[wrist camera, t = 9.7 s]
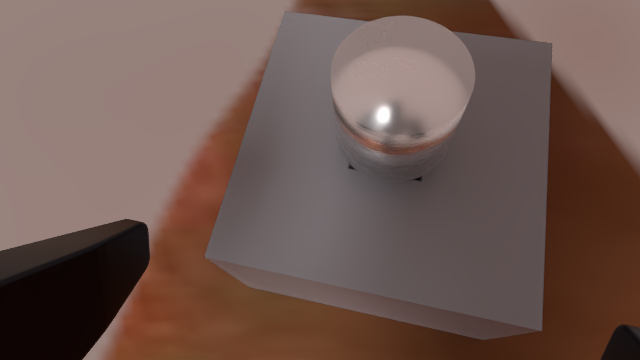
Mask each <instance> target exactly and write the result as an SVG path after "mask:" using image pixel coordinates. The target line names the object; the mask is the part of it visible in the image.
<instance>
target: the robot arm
mask: <svg viewBox="0 0 640 360" xmlns="http://www.w3.org/2000/svg"><path fill="white" fill-rule="evenodd" d="M149 260H150V251H149V235H148V227H147V225H146V224H145V223H143V222H139V221H134V220H130V219H124V220H120V221H116V222H113V223H109V224H104V225H101V226H97V227H93V228H89V229H85V230H81V231H77V232H73V233H69V234H65V235H61V236H57V237H53V238H49V239H46V240H42V241H38V242H34V243H30V244H26V245H22V246H18V247H14V248H10V249H6V250H2V251H0V360H82V359H83V358H84V357H85V356H86V354H87V353H88V352H89V351H90V349H91V348H92V347H93V346H94V345H95V343H96V342H97V341H98V339H99V338H100V337H101V335H102V334H103V333H104V332H105V330H106V329H107V328H108V326H109V325H110V323H111V322H112V321H113V319H114V318H115V316H116V315H117V313H118V312H119V310H120V308H121V307H122V305H123V304H124V302H125V301H126V299H127V298H128V296H129V295H130V293H131V292H132V290H133V289H134V287H135V285H136V284H137V282H138V281H139V279H140V278H141V276H142V275H143V273H144V272H145V270H146V268H147V266H148V264H149ZM601 360H640V328H639V327H635V326H630V325H625V324H623V325H620V326H618V327H617V328H616V329H615V331H614V332H613V335H612V337H611V339H610V341H609V343H608V345H607V347H606V349H605V351H604V353H603V355H602V358H601Z"/></svg>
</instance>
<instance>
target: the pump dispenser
mask: <svg viewBox="0 0 640 360" xmlns="http://www.w3.org/2000/svg"><path fill="white" fill-rule="evenodd" d="M368 22H370V21H361V20H353V19H345V18H336V17H328V16H320V15H311V14H303V13H294V12H286V11H285V13H284V16H283V19H282V22H281V25H280V28H279V31H278V34H277V37H276V40H275V43H274V46H273V49H272V52H271V55H270V58H269V61H268V64H267V67H266V70H265V74H264V77H263V80H262V83H261V86H260V89H259V92H258V95H257V98H256V101H255V104H254V107H253V110H252V113H251V116H250V119H249V122H248V125H247V128H246V131H245V134H244V137H243V141H242V144H241V147H240V150H239V153H238V156H237V159H236V162H235V165H234V168H233V171H232V174H231V177H230V180H229V183H228V186H227V189H226V192H225V195H224V198H223V201H222V205H221V208H220V211H219V214H218V217H217V220H216V223H215V226H214V229H213V232H212V235H211V238H210V241H209V244H208V247H207V250H206V253H205V256H204V257H205V258H207V259H208V260H210V261H211V262H213V263H214V264H215V265H217V266H218V267H220V268H221V269H223V270H224V271H226V272H227V273H229V274H230V275H232V276H233V277H235V278H236V279H238V280H239V281H241V282H242V283H244V284H245V285H247V286H248V287H252V288H256V289H260V290H265V291H269V292H274V293H278V294H282V295H287V296H291V297H296V298H300V299H304V300H309V301H313V302H318V303H322V304H326V305H331V306H335V307H340V308H344V309H348V310H353V311H357V312H362V313H366V314H370V315H375V316H379V317H384V318H388V319H392V320H397V321H401V322H406V323H410V324H414V325H419V326H423V327H428V328H432V329H436V330H441V331H445V332H450V333H454V334H458V335H463V336H467V337H472V338H476V339H480V340H487V339H493V338H500V337H506V336H513V335H520V334H526V333H533V332H539V331H542V318H543V289H544V261H545V232H546V204H547V176H548V147H549V119H550V90H551V62H552V43H545V42H537V41H529V40H520V39H512V38H503V37H495V36H487V35H478V34H470V33H462V32H453V31H451V32H453V33H454V34H455V35H456V36H457V37H458V38H459V39H460V40H461V41H462V42H463V43H464V45H465V46H466V48H467V49H468V51H469V53H470V55H471V57H472V60H473V63H474V68H475V84H474V89H473V92H472V94H471V97H470V99H469V102H468V104H467V106H466V108H465V111H464V113H463V115H462V118H461V120H460V122H459V125H458V127H457V129H456V132H455V134H454V136H453V138H452V141H451V143H450V145H449V148H448V150H447V152H446V154H445V156H444V158H443V159H442V160H441V162H440V163H439V164H438V165H437V166H436V167H435V168H434V169H432V170H431V171H430V172H428V173H427V174H425V175H423V176H421V177H419V178H416V179H413V180H409V181H404V182H385V181H380V180H375V179H373V178H370V177H367V176H366V175H364V174H362V173H360V172H359V171H357V170H356V169H354V168H353V167H352V166H351V165H350V164H349V163H348V162H347V160H346V159H345V158H344V156H343V155H342V153H341V151H340V149H339V147H338V143H337V140H336V132H335V121H334V110H333V99H332V88H331V78H330V73H331V64H332V60H333V57H334V54H335V52H336V50H337V49H338V47H339V46H340V44H341V43H342V41H343V40H344V39H345V38H346V37H347V36H348V35H349V34H350V33H352V32H353V31H354V30H356V29H357V28H359V27H360V26H362V25H364V24H366V23H368Z"/></svg>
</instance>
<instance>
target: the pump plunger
mask: <svg viewBox="0 0 640 360" xmlns="http://www.w3.org/2000/svg"><path fill="white" fill-rule="evenodd" d="M330 78H331V88H332V99H333V110H334V121H335V132H336V140H337V143H338V147H339V149H340V151H341V153H342V155H343V156H344V158H345V159H346V160H347V162H348V163H349V164H350V165H351V166H352V167H353V168H354V169H356V170H357V171H359V172H360V173H362V174H364V175H366V176H367V177H370V178H373V179H375V180H380V181H385V182H404V181H409V180H413V179H416V178H419V177H421V176H423V175H425V174H427V173H428V172H430V171H431V170H432V169H434V168H435V167H436V166H437V165H438V164H439V163H440V162H441V160H442V159H443V158H444V156H445V154H446V152H447V150H448V148H449V145H450V143H451V141H452V138H453V136H454V134H455V132H456V129H457V127H458V125H459V122H460V120H461V118H462V115H463V113H464V111H465V108H466V106H467V104H468V102H469V99H470V97H471V94H472V92H473V89H474V84H475V68H474V63H473V60H472V57H471V55H470V53H469V51H468V49H467V48H466V46H465V45H464V43H463V42H462V41H461V40H460V39H459V38H458V37H457V36H456V35H455V34H454V33H453V32H451V31H450V30H448V29H447V28H445V27H444V26H442V25H440V24H438V23H436V22H433V21H430V20H427V19H424V18H420V17H414V16H390V17H384V18H380V19H376V20H373V21H371V22H368V23H366V24H364V25H362V26H360V27H359V28H357V29H356V30H354V31H353V32H352V33H350V34H349V35H348V36H347V37H346V38H345V39H344V40H343V41H342V43H341V44H340V46H339V47H338V49H337V50H336V52H335V54H334V57H333V60H332V64H331V73H330Z"/></svg>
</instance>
